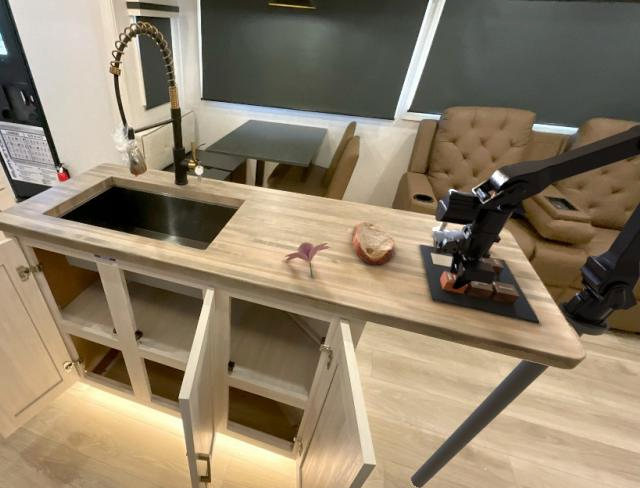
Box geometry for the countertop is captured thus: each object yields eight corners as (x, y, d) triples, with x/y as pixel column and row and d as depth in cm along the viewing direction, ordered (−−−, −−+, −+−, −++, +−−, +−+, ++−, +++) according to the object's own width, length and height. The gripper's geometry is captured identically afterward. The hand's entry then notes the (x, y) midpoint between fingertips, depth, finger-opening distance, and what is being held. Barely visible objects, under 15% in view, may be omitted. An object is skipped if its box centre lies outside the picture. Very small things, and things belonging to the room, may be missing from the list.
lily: (332, 267, 87) (327, 232, 85) (336, 277, 76) (330, 237, 74) (288, 274, 90) (282, 240, 88) (285, 285, 79) (279, 247, 77)
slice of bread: (364, 224, 105) (367, 213, 103) (413, 250, 94) (418, 239, 91) (324, 237, 97) (327, 226, 95) (372, 268, 86) (376, 256, 83)
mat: (503, 261, 91) (504, 259, 91) (538, 323, 72) (540, 321, 71) (420, 245, 96) (421, 244, 96) (432, 300, 77) (433, 298, 76)
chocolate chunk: (494, 266, 88) (499, 258, 87) (498, 275, 85) (504, 267, 83) (475, 262, 89) (480, 254, 88) (479, 271, 86) (485, 263, 84)
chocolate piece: (483, 287, 80) (488, 279, 79) (487, 298, 77) (493, 290, 75) (463, 283, 81) (468, 275, 80) (467, 294, 78) (472, 286, 76)
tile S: (458, 282, 82) (463, 274, 80) (462, 293, 78) (467, 285, 77) (439, 278, 83) (444, 270, 81) (442, 289, 79) (447, 281, 78)
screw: (449, 240, 99) (434, 241, 99) (440, 232, 103) (426, 232, 102) (470, 201, 91) (454, 201, 90) (460, 194, 95) (444, 194, 94)
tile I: (507, 292, 79) (513, 284, 78) (513, 304, 76) (520, 296, 74) (487, 288, 80) (493, 280, 79) (492, 299, 77) (498, 291, 75)
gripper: (438, 203, 79) (414, 256, 88) (453, 240, 65) (422, 298, 75) (489, 211, 76) (458, 265, 86) (516, 252, 62) (475, 310, 72)
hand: (452, 282), depth 80 cm, fingers closed on tile S, 4 cm apart
